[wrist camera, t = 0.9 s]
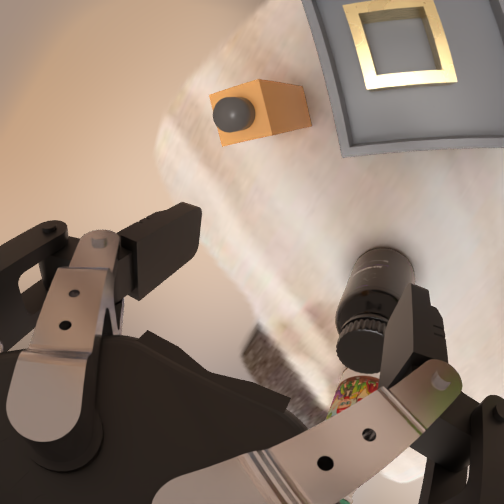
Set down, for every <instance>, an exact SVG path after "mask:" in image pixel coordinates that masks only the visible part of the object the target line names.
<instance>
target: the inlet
mask: <svg viewBox="0 0 504 504" xmlns="http://www.w3.org/2000/svg"><path fill="white" fill-rule="evenodd" d="M342 6H343V8H344V11H345V14H346V17H347V20H348V23H349V27H350V30H351V33H352V36H353V40H354V43H355V46H356V50H357V53H358V57H359V61H360V64H361V68H362V72H363V76H364V80H365V84H366V88H367V90H368V91H370V92H374V91H382V90H391V89H401V88H412V87H425V86H442V85H452V84H454V83H456V82H457V77H456V73H455V69H454V65H453V61H452V57H451V53H450V50H449V46H448V43H447V39H446V36H445V33H444V30H443V27H442V24H441V21H440V18H439V15H438V12H437V9H436V6H435V4H434V1H433V0H371V1H365V2H358V3H352V4H347V5H342ZM414 18H421V19H422V22H423V25H424V28H425V31H426V34H427V38H428V41H429V44H430V48H431V52H432V55H433V59H434V63H435V67H436V70H429V71H415V72H403V73H393V74H384V75H378V74H377V70H376V66H375V62H374V59H373V55H372V52H371V48H370V45H369V41H368V38H367V35H366V31H365V28H364V25H363V24H369V23H376V22H384V21H392V20H402V19H414Z"/></svg>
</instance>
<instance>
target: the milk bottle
mask: <svg viewBox="0 0 504 504" xmlns="http://www.w3.org/2000/svg"><path fill="white" fill-rule="evenodd" d="M379 377H380V372H379V373H374V374H364V373H359V372H355V371H353V370H350V369H349V368H347V369H346V370H345V371H344V373H343V374H342V377H341V379H340V382H339V385H338V388H337V390H336V393H335V396H334V399H333V401H332V404H331V407H330V410H329V412H328V415H327V418H326V420H327V419H329V418H331V417H333V416H335V415H336V414H338V413H340V412H342V411H343V410H345V409H347V408H348V407H350V406H352V405H353V404H355V403H357V402H358V401H360V400H362V399H363V398H365V397H366V396H368V395H370V394H371V393H373V392H374V391H376V390H377V389H378V384H379ZM326 420H325V421H326ZM355 491H356V490H354V491H353V492H352V493H350V494H349V495H347V496H346V497H344V498H343V499H341V500H340V503H341V504H352V503H353V500H352V496H353V494H354V492H355Z"/></svg>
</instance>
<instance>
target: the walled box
mask: <svg viewBox="0 0 504 504" xmlns="http://www.w3.org/2000/svg"><path fill="white" fill-rule="evenodd" d="M301 1H302V4H303V7H304V10H305V13H306V16H307V19H308V22H309V25H310V29H311V32H312V35H313V38H314V42H315V45H316V49H317V52H318V56H319V59H320V63H321V67H322V71H323V74H324V78H325V82H326V86H327V90H328V94H329V99H330V103H331V107H332V112H333V116H334V121H335V125H336V130H337V135H338V140H339V145H340V150H341V155H342V158H345V157H354V156H363V155H373V154H383V153H395V152H407V151H422V150H439V149H461V148H504V0H433V1H434V4H435V6H436V9H437V12H438V15H439V18H440V21H441V24H442V27H443V30H444V33H445V36H446V39H447V43H448V46H449V50H450V53H451V57H452V61H453V65H454V69H455V73H456V77H457V82H456V83H454V84H452V85H442V86H425V87H412V88H401V89H391V90H382V91H374V92H370V91H368V90H367V88H366V84H365V80H364V76H363V72H362V68H361V64H360V61H359V57H358V53H357V50H356V46H355V43H354V40H353V36H352V33H351V30H350V27H349V23H348V20H347V17H346V14H345V11H344V8H343V6H342V5H347V4H352V3H358V2H365V1H371V0H301ZM363 25H364V28H365V31H366V35H367V38H368V41H369V45H370V48H371V52H372V55H373V59H374V62H375V66H376V70H377V74H378V75H384V74H393V73H403V72H415V71H429V70H436V67H435V63H434V59H433V55H432V52H431V48H430V44H429V41H428V38H427V34H426V31H425V28H424V25H423V22H422V19H421V18H414V19H402V20H392V21H384V22H376V23H369V24H363Z"/></svg>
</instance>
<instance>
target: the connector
mask: <svg viewBox="0 0 504 504" xmlns="http://www.w3.org/2000/svg"><path fill="white" fill-rule="evenodd" d="M209 97H210V101H211V105H212V109H213V119H214V122H215V124H216V126H217V128H218V132H219V136H220V140H221V144H222V147H223V146H227V145H231V144H235V143H240V142H244V141H248V140H253V139H257V138H262V137H267V136H272V135H276V134H280V133H284V132H288V131H292V130H297V129H301V128H306V127H310V126H312V124H311V120H310V116H309V111H308V107H307V103H306V99H305V95H304V91H303V87H302V86H297V85H292V84H286V83H280V82H274V81H268V80H261V79H257V80H254V81H251V82H247V83H244V84H241V85H238V86H234V87H231V88H228V89H225V90H222V91H219V92H216V93H214V94H211V95H209Z"/></svg>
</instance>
